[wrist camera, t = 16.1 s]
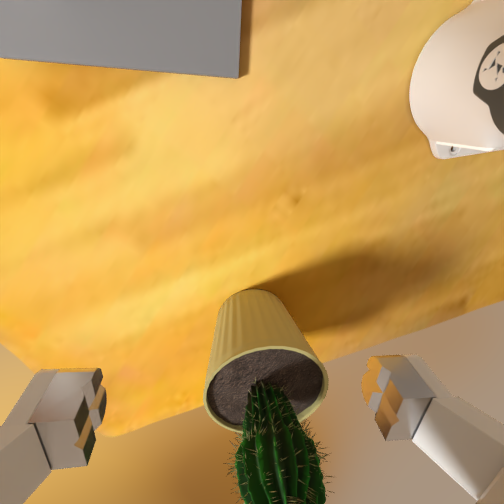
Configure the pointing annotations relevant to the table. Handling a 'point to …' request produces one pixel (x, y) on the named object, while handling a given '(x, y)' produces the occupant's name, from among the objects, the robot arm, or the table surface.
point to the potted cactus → (266, 398)
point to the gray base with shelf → (126, 34)
